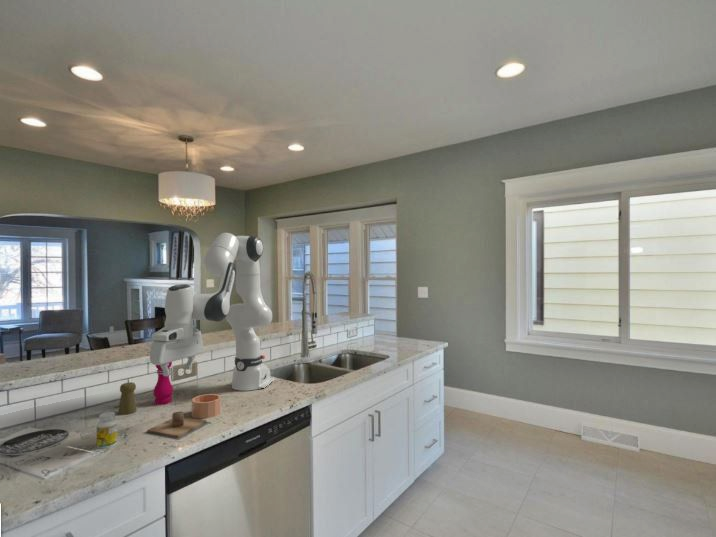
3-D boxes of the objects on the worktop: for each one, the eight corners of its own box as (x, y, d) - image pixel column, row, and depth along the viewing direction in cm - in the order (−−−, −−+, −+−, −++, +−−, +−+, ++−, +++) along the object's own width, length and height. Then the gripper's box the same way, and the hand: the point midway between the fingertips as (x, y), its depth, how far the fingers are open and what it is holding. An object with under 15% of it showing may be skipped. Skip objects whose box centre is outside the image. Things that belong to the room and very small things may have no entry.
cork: (127, 415, 139) (128, 386, 139) (114, 414, 140) (114, 384, 140) (140, 409, 145) (140, 381, 145) (127, 408, 146) (127, 380, 146)
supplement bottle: (121, 443, 116) (121, 412, 116) (104, 450, 111) (104, 418, 111) (109, 440, 118) (109, 410, 118) (92, 447, 113) (92, 415, 113)
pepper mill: (150, 402, 153) (151, 353, 154) (168, 398, 159) (169, 351, 159) (156, 406, 148) (157, 356, 149) (175, 402, 154) (176, 353, 154)
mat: (177, 418, 137) (177, 416, 137) (210, 423, 132) (210, 422, 132) (142, 434, 123) (142, 433, 123) (178, 441, 118) (178, 439, 118)
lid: (177, 418, 136) (177, 405, 136) (206, 422, 131) (206, 409, 132) (147, 432, 123) (147, 417, 123) (178, 438, 119) (178, 423, 119)
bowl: (204, 408, 147) (205, 392, 147) (226, 411, 144) (226, 395, 144) (185, 417, 137) (186, 401, 138) (208, 420, 134) (208, 404, 134)
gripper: (193, 327, 139) (193, 364, 138) (146, 335, 119) (145, 379, 119) (207, 328, 137) (206, 366, 136) (162, 336, 117) (161, 380, 117)
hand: (178, 372), depth 128 cm, fingers open, 8 cm apart
